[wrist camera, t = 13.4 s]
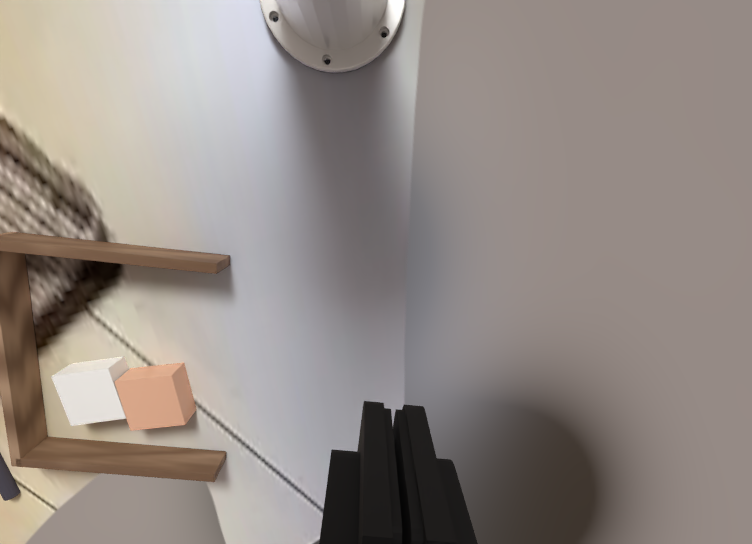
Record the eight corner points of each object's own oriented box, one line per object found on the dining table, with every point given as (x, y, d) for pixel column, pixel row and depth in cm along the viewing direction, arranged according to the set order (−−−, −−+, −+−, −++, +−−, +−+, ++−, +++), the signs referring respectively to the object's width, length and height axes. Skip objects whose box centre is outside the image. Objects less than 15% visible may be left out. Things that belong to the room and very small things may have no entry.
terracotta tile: (132, 367, 42) (114, 381, 39) (185, 361, 42) (171, 375, 39) (146, 413, 43) (130, 430, 40) (197, 407, 43) (185, 424, 40)
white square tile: (73, 362, 41) (51, 376, 38) (126, 354, 41) (108, 368, 38) (91, 408, 43) (71, 425, 40) (142, 401, 43) (125, 418, 40)
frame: (12, 231, 37) (-24, 237, 34) (229, 255, 38) (216, 263, 35) (39, 443, 44) (11, 466, 40) (225, 458, 45) (214, 481, 41)
